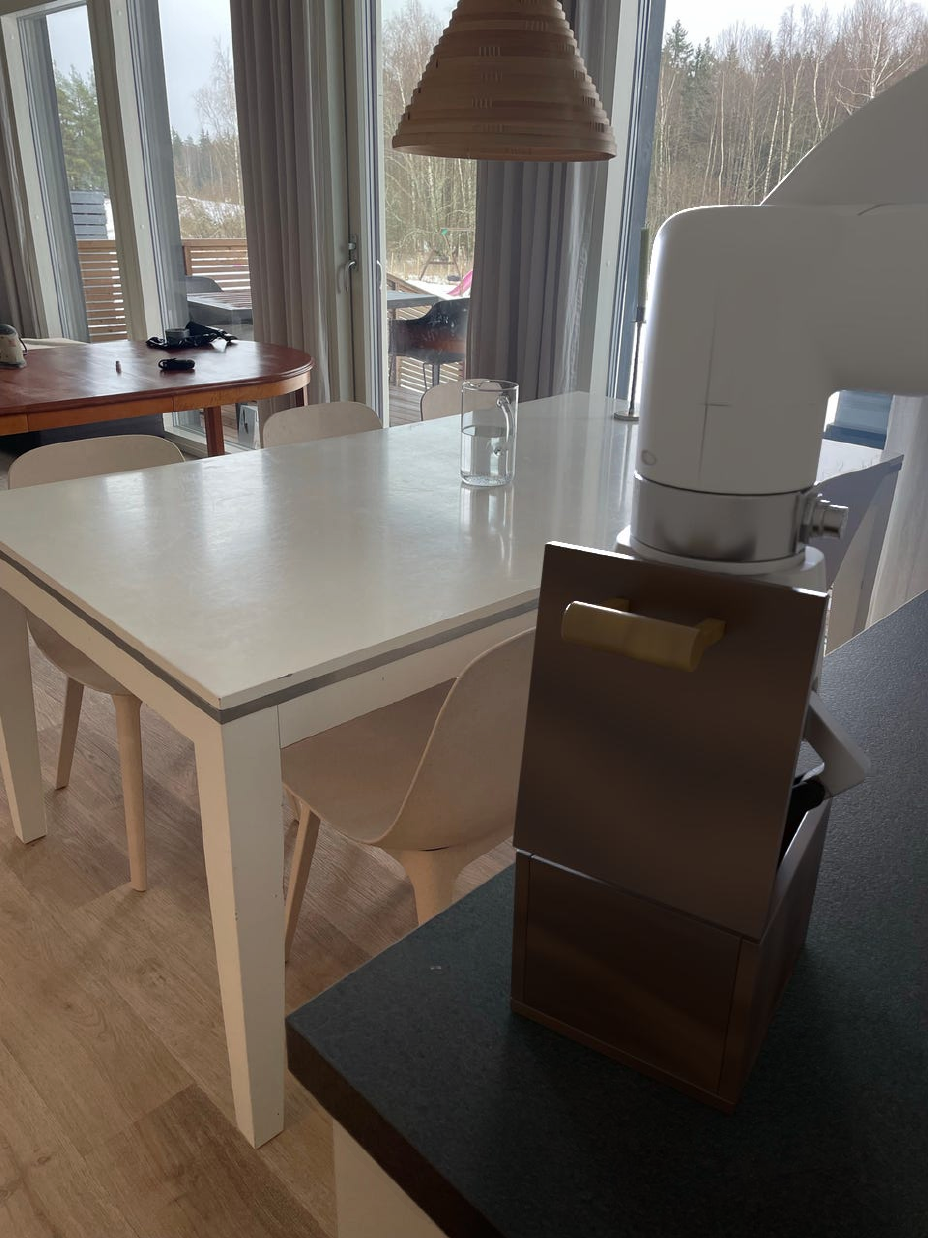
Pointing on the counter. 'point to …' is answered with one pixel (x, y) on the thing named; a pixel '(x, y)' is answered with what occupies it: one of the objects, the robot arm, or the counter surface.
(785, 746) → the lid
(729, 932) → the chest
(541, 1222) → the counter surface
